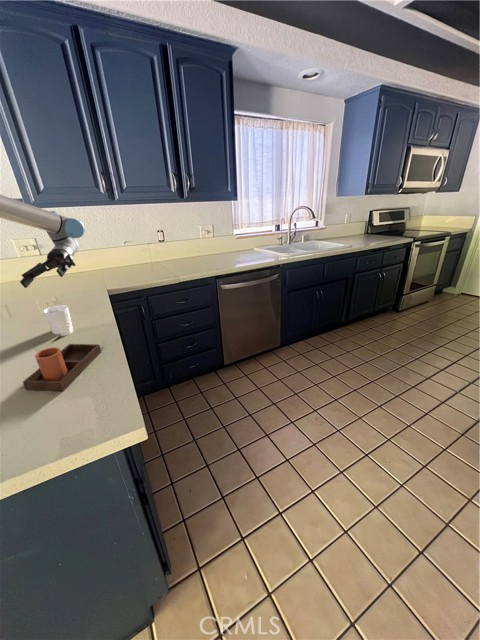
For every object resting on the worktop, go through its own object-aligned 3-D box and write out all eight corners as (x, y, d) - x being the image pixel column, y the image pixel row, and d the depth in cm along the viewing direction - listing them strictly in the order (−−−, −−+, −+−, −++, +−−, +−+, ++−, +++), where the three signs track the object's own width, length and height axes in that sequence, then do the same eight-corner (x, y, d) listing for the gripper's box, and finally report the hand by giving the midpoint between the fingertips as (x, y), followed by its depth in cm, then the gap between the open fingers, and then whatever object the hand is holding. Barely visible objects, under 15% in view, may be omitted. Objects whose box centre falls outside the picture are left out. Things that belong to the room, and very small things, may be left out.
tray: (26, 390, 72) (22, 381, 71) (71, 351, 91) (69, 343, 89) (63, 391, 72) (60, 382, 71) (101, 352, 90) (99, 344, 89)
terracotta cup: (40, 385, 74) (29, 358, 70) (54, 372, 80) (45, 347, 76) (60, 385, 74) (50, 358, 70) (73, 373, 79) (64, 347, 76)
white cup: (78, 327, 107) (71, 304, 103) (70, 336, 100) (62, 312, 96) (56, 329, 106) (49, 305, 102) (47, 338, 99) (38, 314, 95)
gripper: (93, 255, 116) (80, 277, 100) (38, 272, 115) (15, 297, 99) (83, 239, 112) (67, 259, 95) (25, 257, 111) (0, 280, 94)
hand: (41, 279), depth 97 cm, fingers open, 13 cm apart
